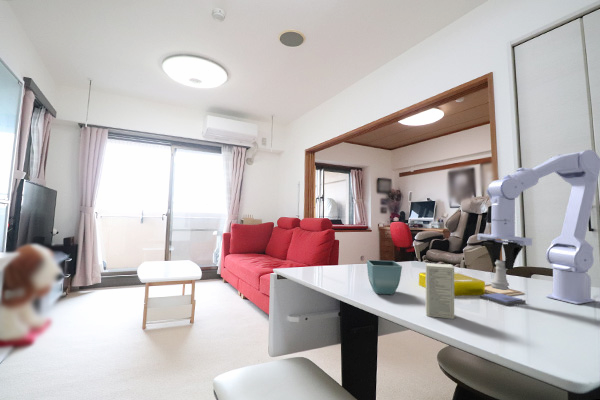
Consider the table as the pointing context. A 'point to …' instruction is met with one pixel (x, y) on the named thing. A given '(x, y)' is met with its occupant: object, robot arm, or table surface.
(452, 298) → the skincare box
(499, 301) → the ink pad
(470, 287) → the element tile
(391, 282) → the flower pot
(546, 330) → the table surface
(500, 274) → the rook chess piece
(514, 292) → the mat
